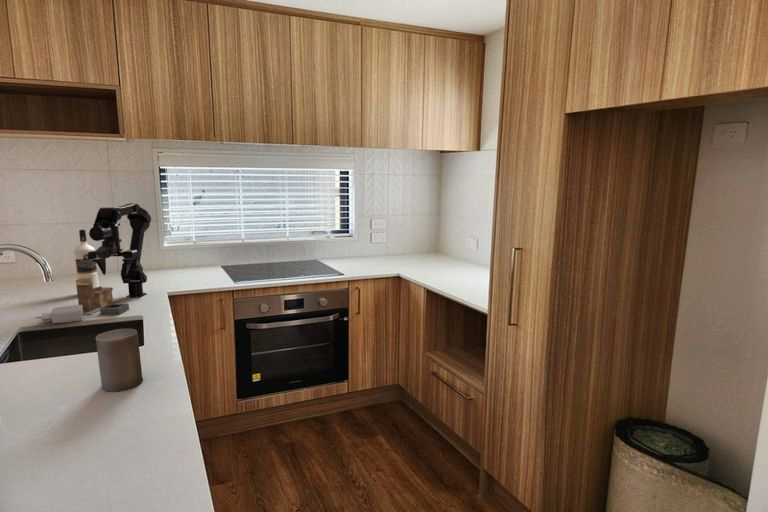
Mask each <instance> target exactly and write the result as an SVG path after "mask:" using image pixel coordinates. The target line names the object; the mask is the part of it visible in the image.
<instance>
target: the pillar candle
mask: <svg viewBox="0 0 768 512" xmlns="http://www.w3.org/2000/svg"><path fill="white" fill-rule="evenodd" d="M95 343H96V350H97V360H98V366H99V376H100V383H101V388H102V389H103V390H104V391H106V392H113V393H114V392H121V391H125V390H129V389H132V388H134V387H138V386H139V385H141V384H142V383H143V381H144V378H143V370H142V361H141V351H140V343H139V335H138V331H137V329H135V328H119V329H118V328H116V329H113V330H108V331H105V332H101V333H100V334H97V335H96V337H95Z"/></svg>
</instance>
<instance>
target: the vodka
mask: <svg viewBox="0 0 768 512" xmlns="http://www.w3.org/2000/svg"><path fill="white" fill-rule="evenodd" d="M78 233H79V234H78V235H79V241H80V242H79V245H78V246H77V247H75V248H74V249H73V254H74V259H75V261H74V262H75V268H76V278H77V279H76V280H78V279H81V278H92V283H93V288H96V287H99V286H100V283H99V277H98V276H99V275H98V274H99V273H98V268H97V263H96V262H94V261H92V260H91V259H88V256H87V254H88V252H90V251H94V250H96V249H95V247H94V246H92V245H90V244H88V241H87V234H86V229H79V230H78Z"/></svg>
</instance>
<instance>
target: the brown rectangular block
mask: <svg viewBox="0 0 768 512" xmlns="http://www.w3.org/2000/svg"><path fill="white" fill-rule="evenodd" d="M75 285H76V292H77V300H78V301H77V303H78V305H82V306H83V312H91V311H93V310H95V301H94V292H93V283H92V278H81V279H75Z"/></svg>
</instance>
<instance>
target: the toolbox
mask: <svg viewBox="0 0 768 512" xmlns="http://www.w3.org/2000/svg"><path fill="white" fill-rule="evenodd" d="M113 290H114V289H113V287H112V286H111V287H103V286H100V285H99V287H96V288H93V292H94V301H95V308H102V307H105V306H107V305H109V304H114V300H113V299H114V298H113Z"/></svg>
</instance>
